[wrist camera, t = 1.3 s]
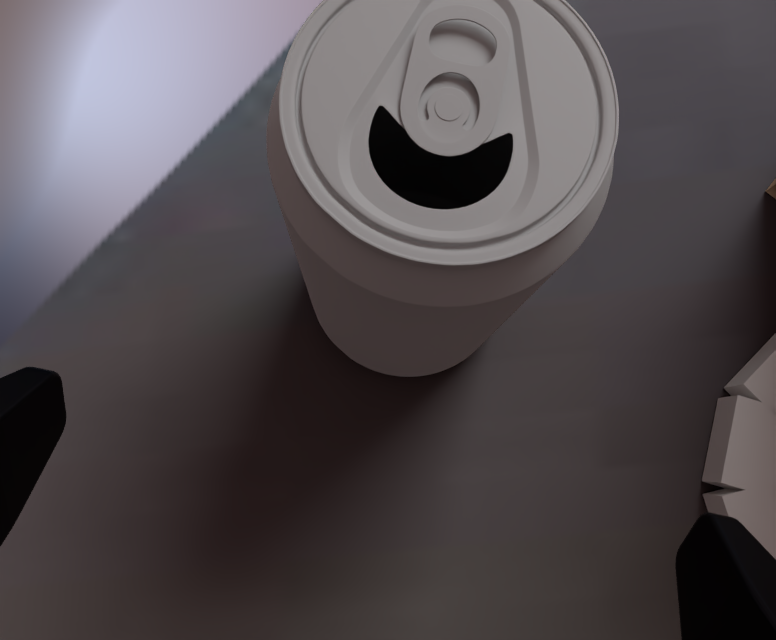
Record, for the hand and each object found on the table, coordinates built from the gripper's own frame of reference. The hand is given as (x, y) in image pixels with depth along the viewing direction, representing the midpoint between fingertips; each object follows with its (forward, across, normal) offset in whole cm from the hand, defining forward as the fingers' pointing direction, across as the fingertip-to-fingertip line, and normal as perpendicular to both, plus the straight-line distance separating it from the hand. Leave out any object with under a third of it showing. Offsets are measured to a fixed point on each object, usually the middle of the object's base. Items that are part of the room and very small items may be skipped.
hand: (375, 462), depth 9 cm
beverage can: (+13, 0, +5) cm, 14 cm away
